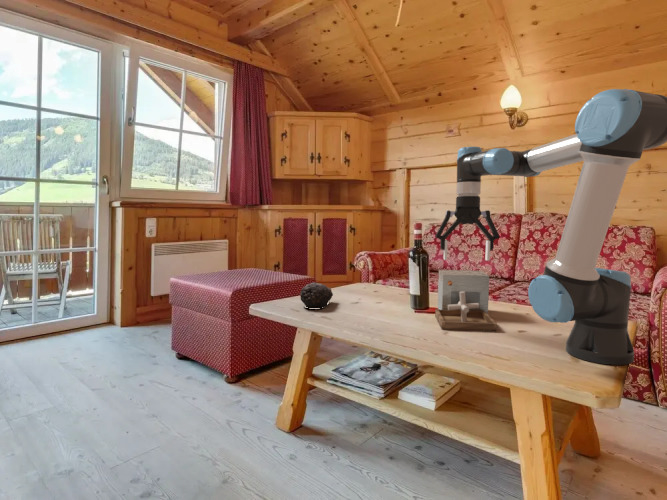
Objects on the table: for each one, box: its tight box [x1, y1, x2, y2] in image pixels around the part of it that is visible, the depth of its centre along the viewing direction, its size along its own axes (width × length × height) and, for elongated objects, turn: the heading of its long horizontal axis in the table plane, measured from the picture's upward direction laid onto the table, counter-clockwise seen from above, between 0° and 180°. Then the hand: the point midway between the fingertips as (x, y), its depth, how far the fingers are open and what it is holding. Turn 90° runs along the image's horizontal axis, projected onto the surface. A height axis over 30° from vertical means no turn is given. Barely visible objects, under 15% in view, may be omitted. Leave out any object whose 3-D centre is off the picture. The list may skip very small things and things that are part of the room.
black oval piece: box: [299, 282, 334, 309], centre depth 164 cm, size 10×18×10 cm, turn 163°
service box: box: [437, 269, 490, 315], centre depth 153 cm, size 13×16×15 cm
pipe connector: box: [448, 292, 479, 322], centre depth 139 cm, size 10×10×10 cm
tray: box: [434, 308, 498, 333], centre depth 139 cm, size 17×17×2 cm
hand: (466, 260), depth 137 cm, fingers open, 13 cm apart
